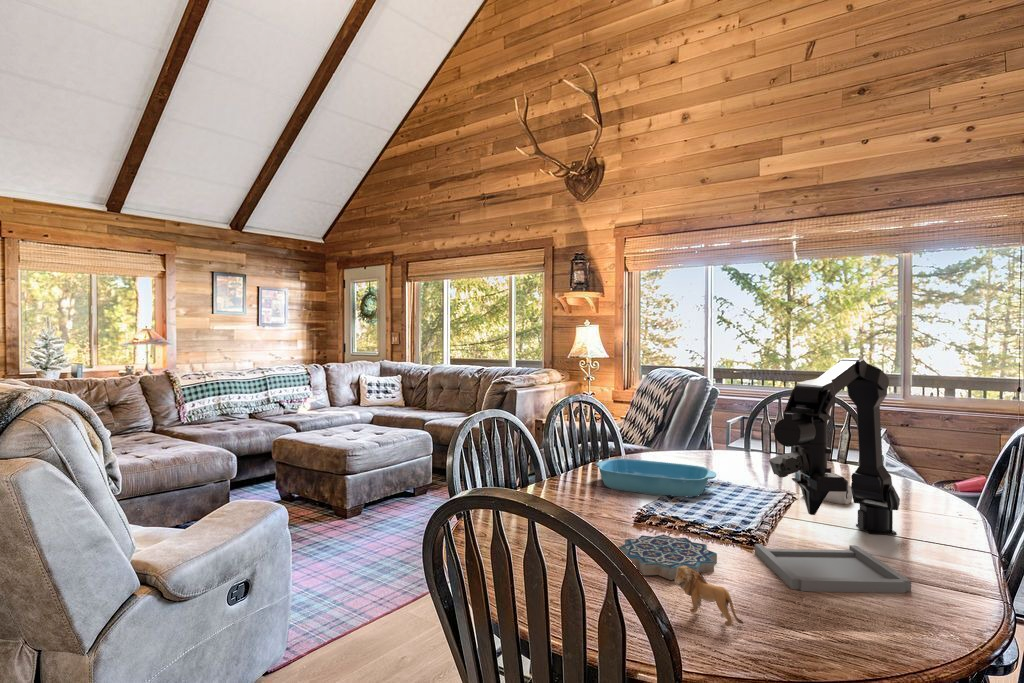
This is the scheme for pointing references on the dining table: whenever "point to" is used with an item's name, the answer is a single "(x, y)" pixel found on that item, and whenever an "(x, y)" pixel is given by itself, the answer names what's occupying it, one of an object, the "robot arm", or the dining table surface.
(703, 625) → the dining table surface
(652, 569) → the decorative tile
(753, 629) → the dining table surface
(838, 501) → the beverage can
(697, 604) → the lion figurine
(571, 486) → the dining table surface
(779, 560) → the tray
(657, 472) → the casserole dish
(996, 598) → the dining table surface
